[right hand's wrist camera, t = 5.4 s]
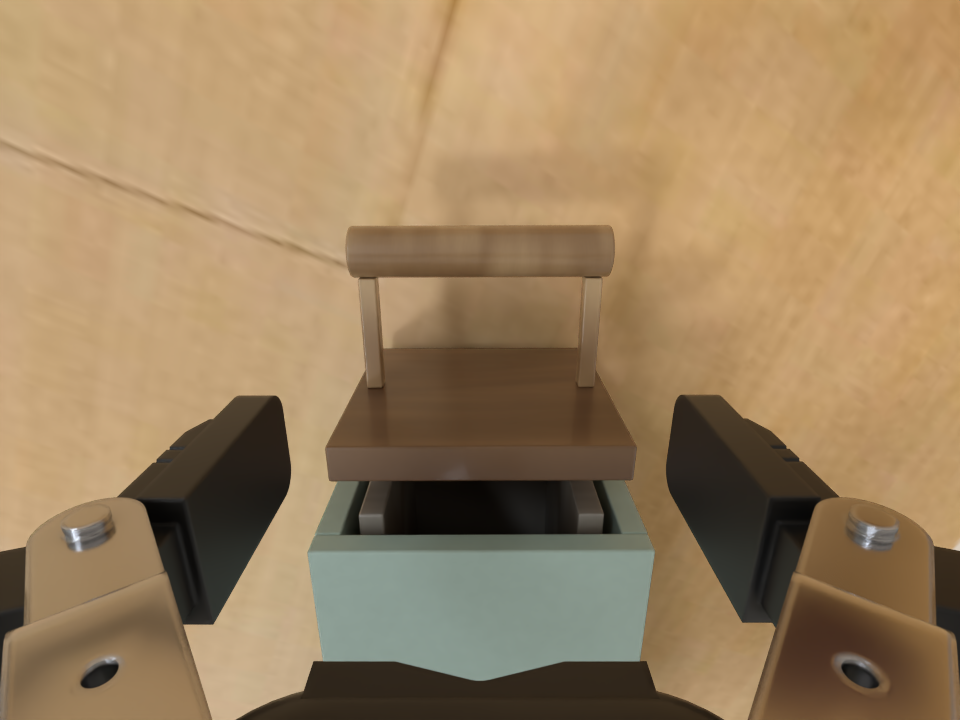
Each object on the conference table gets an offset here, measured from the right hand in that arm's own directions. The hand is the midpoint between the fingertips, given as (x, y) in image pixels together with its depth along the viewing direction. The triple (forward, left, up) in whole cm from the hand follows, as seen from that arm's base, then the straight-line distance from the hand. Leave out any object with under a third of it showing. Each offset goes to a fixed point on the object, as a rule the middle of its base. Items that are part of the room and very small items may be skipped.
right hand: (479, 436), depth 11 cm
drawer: (+9, 0, -13) cm, 16 cm away
